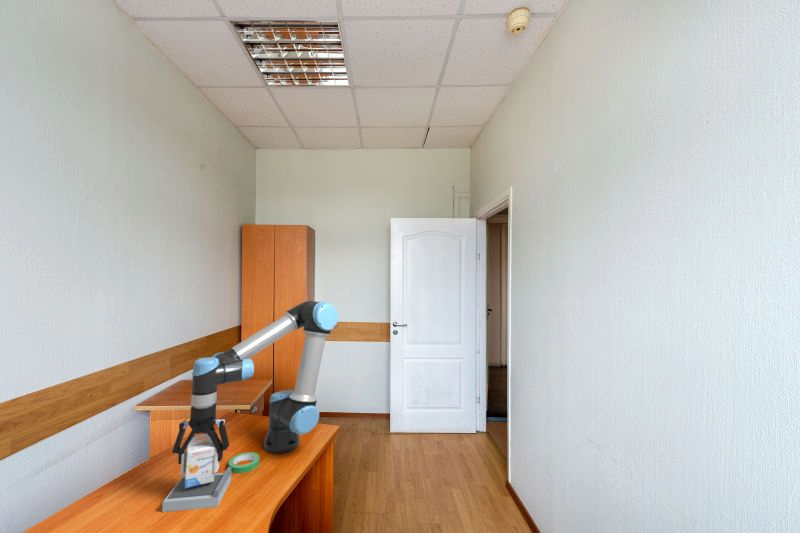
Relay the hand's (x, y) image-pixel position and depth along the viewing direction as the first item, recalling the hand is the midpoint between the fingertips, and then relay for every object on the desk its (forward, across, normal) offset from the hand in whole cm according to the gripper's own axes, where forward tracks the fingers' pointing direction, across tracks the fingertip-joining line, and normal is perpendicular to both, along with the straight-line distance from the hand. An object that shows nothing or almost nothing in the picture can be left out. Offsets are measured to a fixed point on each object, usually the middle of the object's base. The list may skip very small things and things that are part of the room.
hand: (200, 471), depth 113 cm
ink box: (+3, 0, 0) cm, 3 cm away
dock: (+8, 0, 0) cm, 8 cm away
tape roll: (+8, -10, -17) cm, 21 cm away
